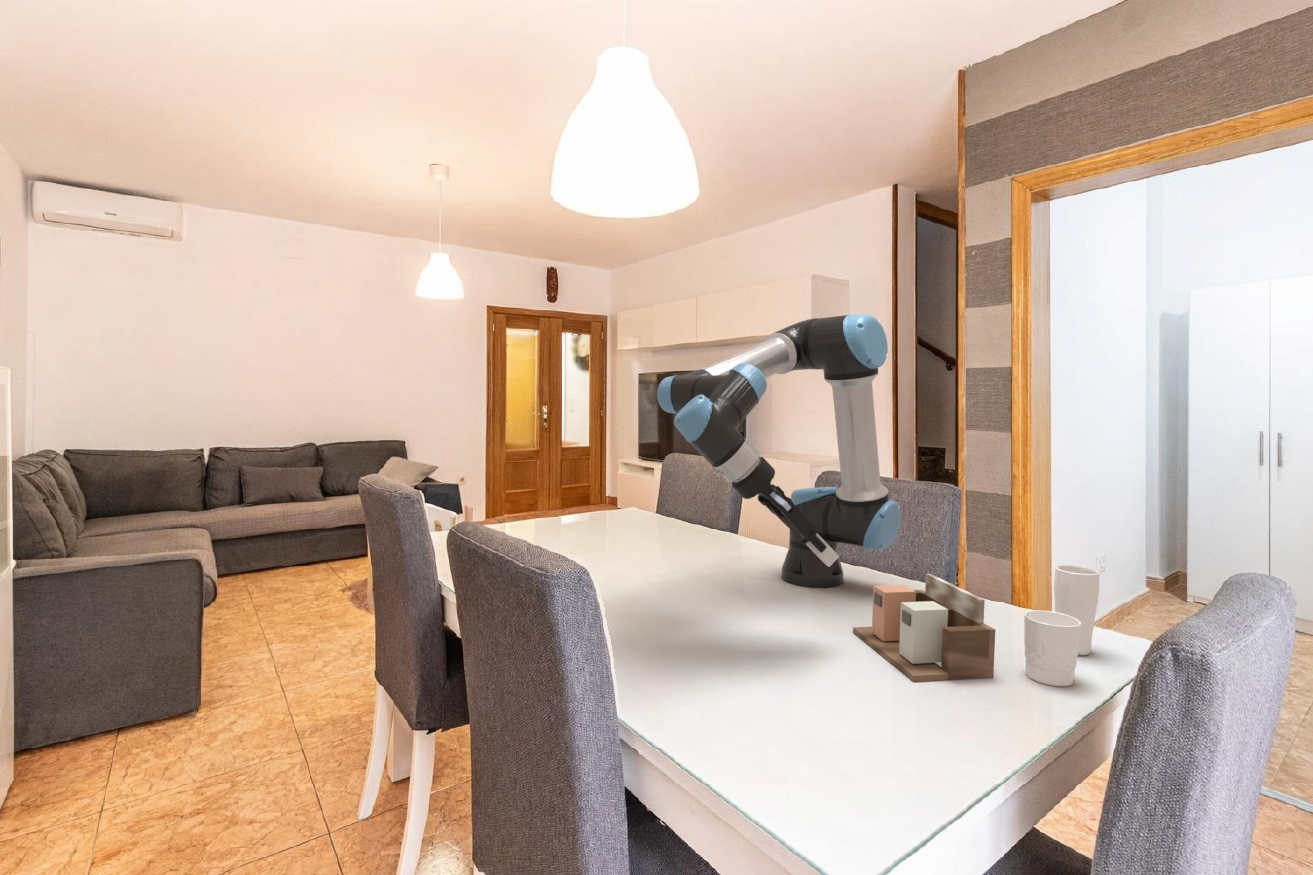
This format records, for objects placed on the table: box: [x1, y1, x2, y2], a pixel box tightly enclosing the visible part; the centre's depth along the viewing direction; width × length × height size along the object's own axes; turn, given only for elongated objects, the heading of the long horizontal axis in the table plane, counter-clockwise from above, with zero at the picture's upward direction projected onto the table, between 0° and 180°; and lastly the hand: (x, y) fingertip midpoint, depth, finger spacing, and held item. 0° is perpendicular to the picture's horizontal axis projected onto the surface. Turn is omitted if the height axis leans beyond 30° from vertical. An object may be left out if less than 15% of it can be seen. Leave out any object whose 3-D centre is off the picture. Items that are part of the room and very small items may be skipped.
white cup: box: [1023, 609, 1081, 687], centre depth 105 cm, size 8×8×10 cm
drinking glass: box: [1053, 564, 1100, 656], centre depth 117 cm, size 7×7×15 cm
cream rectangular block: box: [899, 601, 948, 664], centre depth 110 cm, size 4×6×9 cm
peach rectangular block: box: [871, 584, 916, 641], centre depth 120 cm, size 4×6×9 cm
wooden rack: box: [852, 573, 996, 683], centre depth 115 cm, size 22×14×12 cm, turn 8°
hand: (832, 560), depth 117 cm, fingers closed
